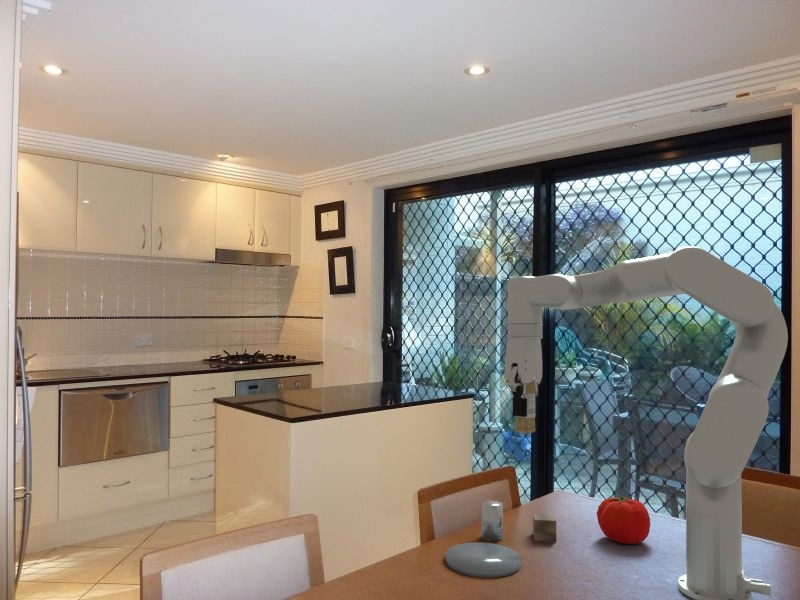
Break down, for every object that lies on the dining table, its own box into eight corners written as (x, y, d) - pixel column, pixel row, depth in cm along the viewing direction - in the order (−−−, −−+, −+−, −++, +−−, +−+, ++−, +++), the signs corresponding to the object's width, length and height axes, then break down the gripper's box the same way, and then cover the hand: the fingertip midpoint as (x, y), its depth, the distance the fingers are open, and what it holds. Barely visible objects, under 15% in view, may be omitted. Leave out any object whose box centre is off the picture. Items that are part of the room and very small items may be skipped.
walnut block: (553, 534, 148) (553, 514, 148) (556, 542, 143) (556, 520, 143) (532, 533, 148) (532, 513, 149) (534, 541, 143) (534, 519, 144)
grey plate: (529, 555, 134) (529, 550, 134) (507, 583, 120) (507, 577, 120) (461, 543, 141) (461, 537, 141) (433, 567, 127) (433, 561, 127)
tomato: (653, 538, 146) (653, 494, 146) (646, 553, 136) (646, 507, 136) (602, 529, 152) (602, 487, 152) (592, 543, 142) (592, 499, 142)
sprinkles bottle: (527, 429, 137) (527, 369, 138) (539, 432, 133) (539, 371, 134) (510, 430, 136) (510, 370, 136) (522, 434, 131) (522, 371, 132)
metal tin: (505, 536, 146) (505, 502, 147) (498, 542, 142) (499, 508, 142) (485, 532, 149) (485, 499, 149) (478, 539, 144) (478, 504, 144)
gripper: (526, 331, 144) (526, 409, 144) (491, 332, 131) (491, 417, 130) (556, 332, 140) (556, 412, 139) (523, 332, 126) (523, 421, 126)
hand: (525, 414), depth 135 cm, fingers closed on sprinkles bottle, 4 cm apart
